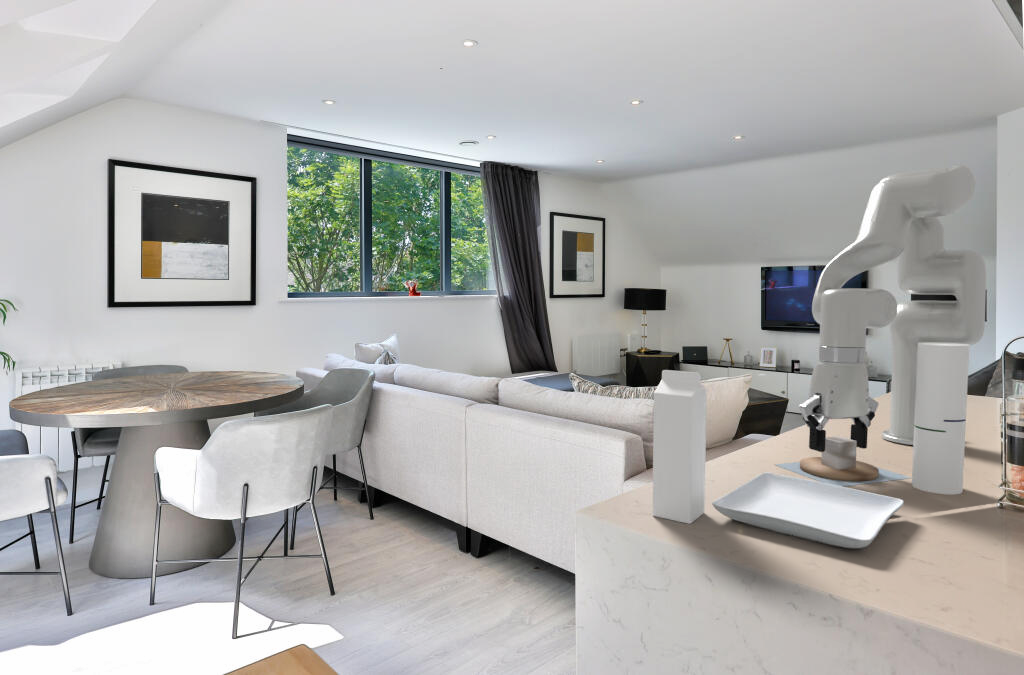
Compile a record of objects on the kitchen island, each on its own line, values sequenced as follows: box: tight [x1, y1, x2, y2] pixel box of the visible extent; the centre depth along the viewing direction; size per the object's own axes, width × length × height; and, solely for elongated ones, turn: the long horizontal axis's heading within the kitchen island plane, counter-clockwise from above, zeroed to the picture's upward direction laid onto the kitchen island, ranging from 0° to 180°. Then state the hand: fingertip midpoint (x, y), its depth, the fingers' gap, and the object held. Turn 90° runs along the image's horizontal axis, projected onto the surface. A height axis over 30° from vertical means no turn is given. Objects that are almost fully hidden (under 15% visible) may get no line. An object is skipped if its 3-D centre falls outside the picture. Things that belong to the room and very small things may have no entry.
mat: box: [774, 461, 912, 487], centre depth 117 cm, size 17×15×1 cm
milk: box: [652, 369, 708, 525], centre depth 95 cm, size 6×6×22 cm
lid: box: [799, 435, 879, 482], centre depth 117 cm, size 13×13×6 cm
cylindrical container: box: [911, 342, 970, 495], centre depth 106 cm, size 7×7×25 cm
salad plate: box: [712, 471, 905, 549], centre depth 93 cm, size 21×21×3 cm
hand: (837, 448), depth 116 cm, fingers open, 9 cm apart
